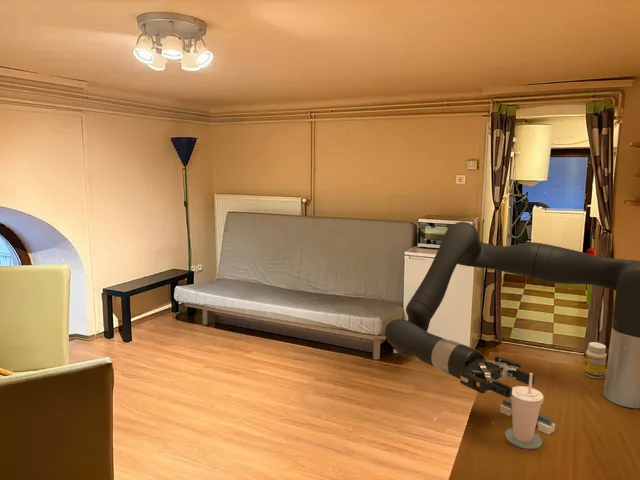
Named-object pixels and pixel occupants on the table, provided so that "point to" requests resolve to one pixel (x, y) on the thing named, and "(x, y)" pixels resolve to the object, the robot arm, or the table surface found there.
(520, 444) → the pad
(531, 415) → the smoothie
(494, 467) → the table surface
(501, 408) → the hurdle stand
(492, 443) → the table surface
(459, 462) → the table surface
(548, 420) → the steel bar
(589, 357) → the supplement bottle
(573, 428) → the table surface
